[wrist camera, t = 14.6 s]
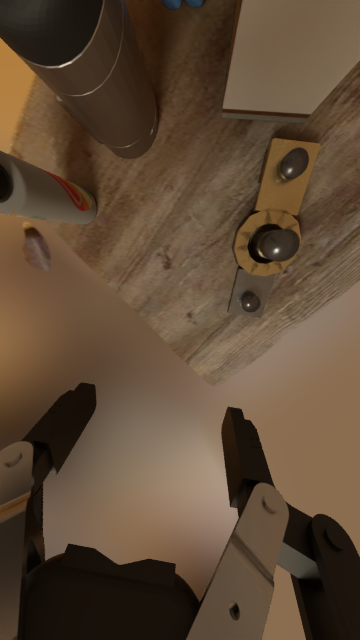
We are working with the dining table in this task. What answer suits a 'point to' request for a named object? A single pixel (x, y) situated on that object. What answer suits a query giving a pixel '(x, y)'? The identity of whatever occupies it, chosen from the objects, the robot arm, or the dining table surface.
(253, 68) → the beige rectangular tower
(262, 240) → the pin
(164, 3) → the grapes
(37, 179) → the lotion bottle
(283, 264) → the tan piece
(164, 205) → the dining table surface
